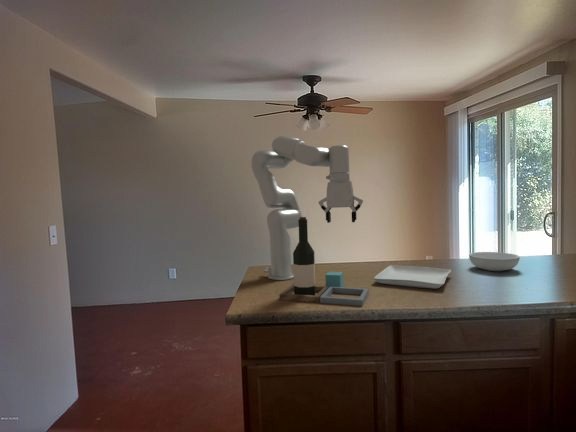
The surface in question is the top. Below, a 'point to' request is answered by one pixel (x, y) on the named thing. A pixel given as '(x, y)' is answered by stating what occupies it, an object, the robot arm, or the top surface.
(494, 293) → the top surface
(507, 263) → the serving bowl
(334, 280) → the teal block
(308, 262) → the wine bottle
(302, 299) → the walnut frame
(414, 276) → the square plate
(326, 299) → the slate frame
